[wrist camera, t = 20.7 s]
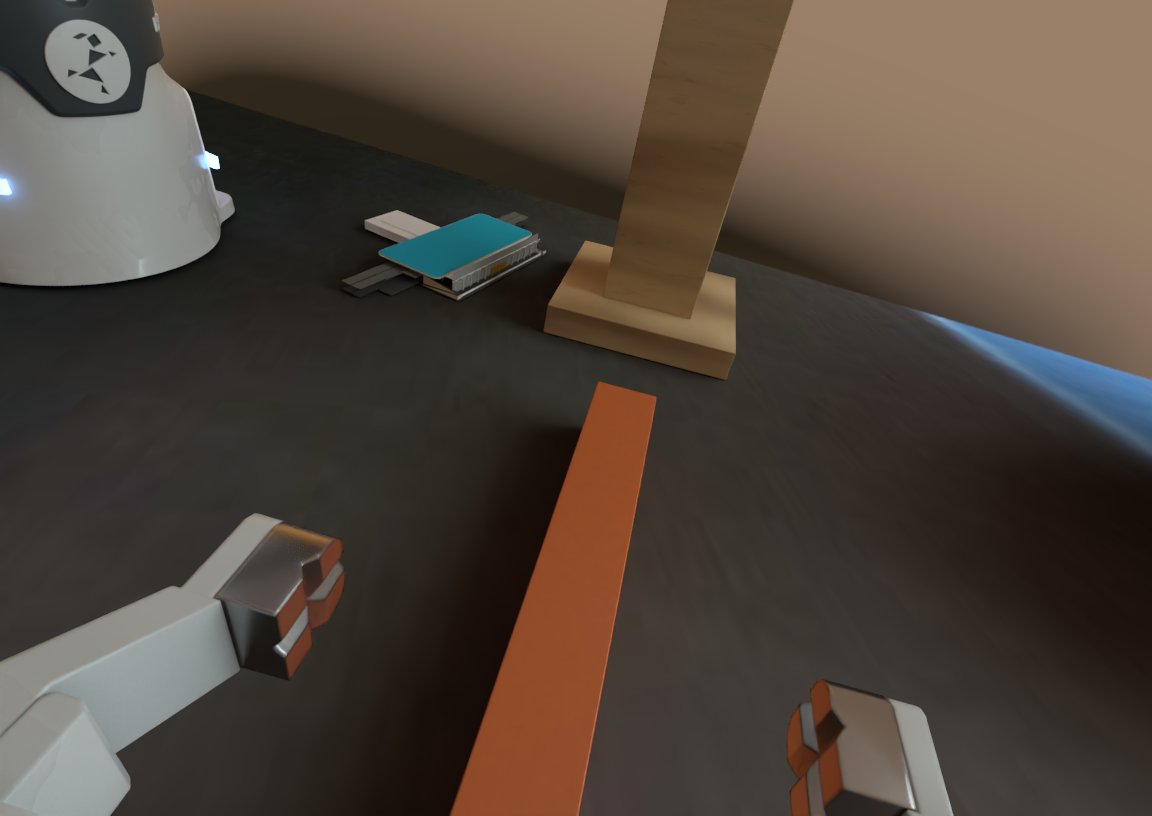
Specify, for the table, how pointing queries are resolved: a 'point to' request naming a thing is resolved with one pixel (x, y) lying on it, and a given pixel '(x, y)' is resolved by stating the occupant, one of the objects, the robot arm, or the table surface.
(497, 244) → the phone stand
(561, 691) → the rod
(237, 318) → the table surface
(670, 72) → the birch stand
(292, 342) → the table surface
